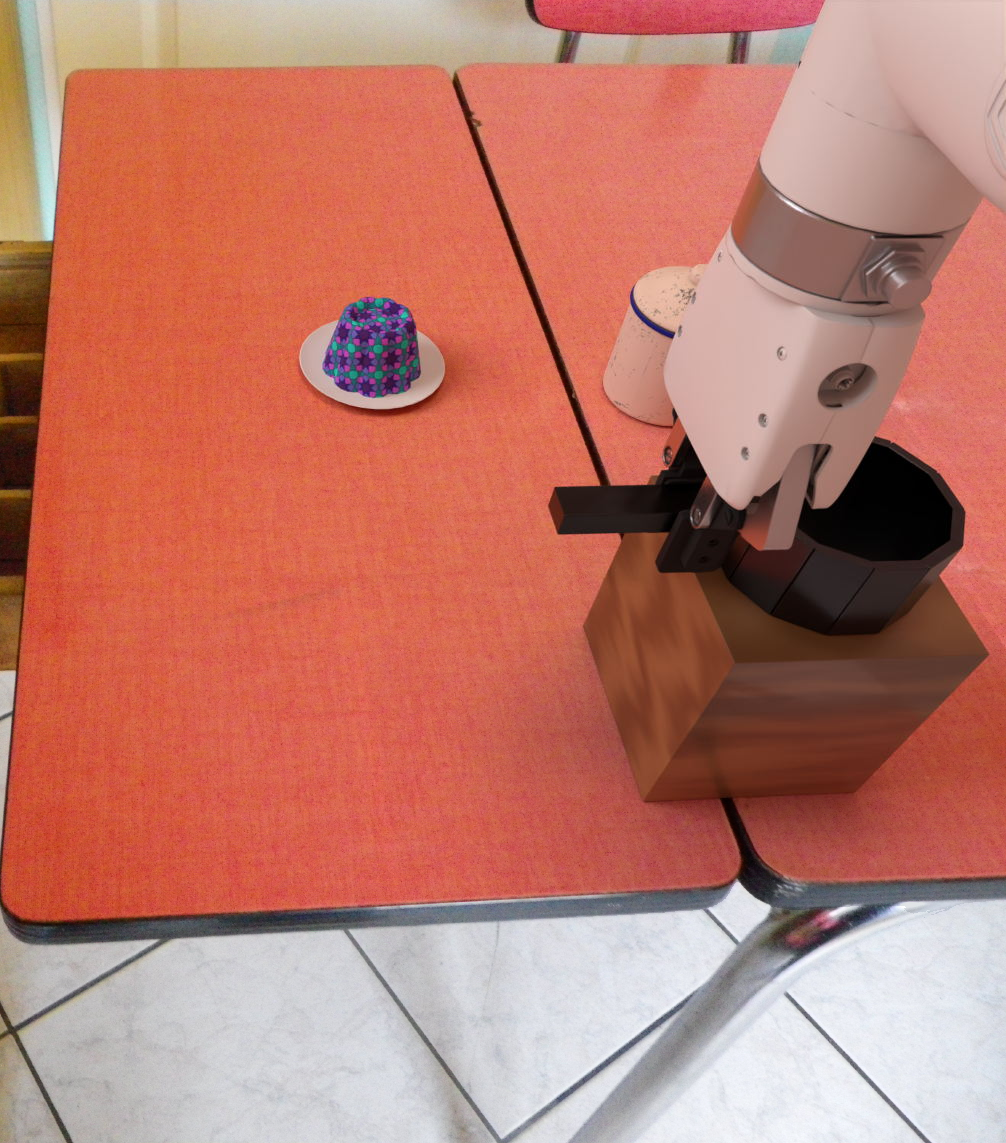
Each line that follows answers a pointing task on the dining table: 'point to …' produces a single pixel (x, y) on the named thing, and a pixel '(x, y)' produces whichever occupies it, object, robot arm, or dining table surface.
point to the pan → (813, 541)
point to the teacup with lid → (649, 343)
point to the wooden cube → (760, 683)
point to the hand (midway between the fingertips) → (677, 545)
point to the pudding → (373, 357)
